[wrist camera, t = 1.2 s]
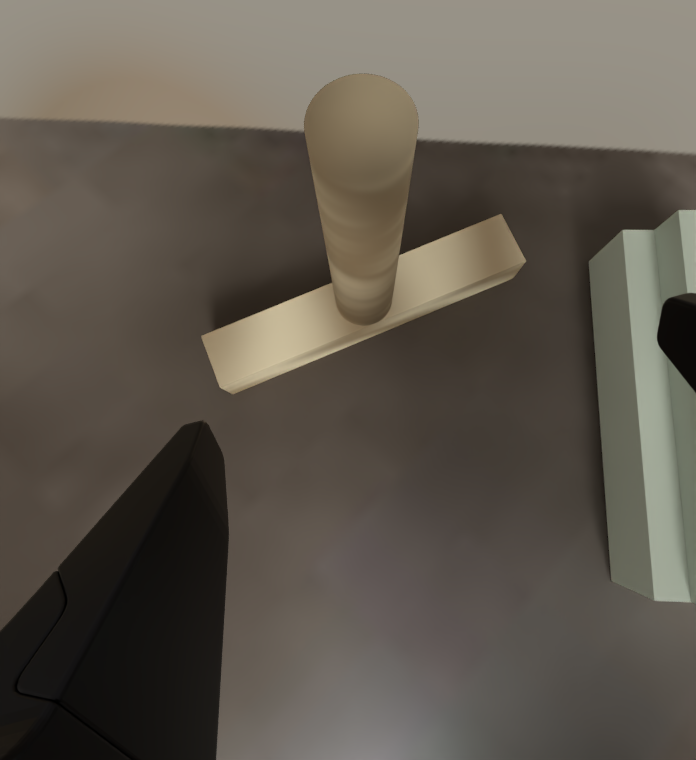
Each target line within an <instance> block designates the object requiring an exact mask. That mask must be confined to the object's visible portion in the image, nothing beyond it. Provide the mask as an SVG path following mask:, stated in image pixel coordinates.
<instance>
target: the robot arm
mask: <svg viewBox="0 0 696 760" xmlns="http://www.w3.org/2000/svg"><path fill="white" fill-rule="evenodd" d="M657 342H658V345H659V347H660V348H661V350H662V351H663V352H664V354H665V355H666V356H667V357H668V359H669V360H670V361H671V362H672V364H673V365H674V366H675V368H676V369H677V370H678V371H679V373H680V374H681V375H682V376H683V378H684V379H685V380H686V381H687V383H688V384H689V385H690V386H691V388H692V389H693V390H694V392H695V393H696V293H685V294H681V295H677V296H674V297H670V298H668V299H667V300H665V302H664V303H663V306H662V310H661V315H660V321H659V326H658V331H657ZM228 541H229V526H228V509H227V494H226V480H225V465H224V458H223V454H222V451H221V449H220V447H219V445H218V443H217V441H216V439H215V437H214V435H213V433H212V431H211V429H210V427H209V425H208V424H207V423H206V422H205V421H203V420H202V421H198V422H194V423H190V424H186V425H184V426H182V427H181V428H180V429H179V430H178V432H177V433H176V434H175V435H174V436H173V437H172V438H171V440H170V441H169V442H168V443H167V444H166V445H165V446H164V448H163V449H162V450H161V451H160V452H159V453H158V454H157V455H156V457H155V458H154V459H153V460H152V461H151V462H150V463H149V465H148V466H147V467H146V468H145V469H144V470H143V471H142V472H141V474H140V475H139V476H138V477H137V478H136V479H135V480H134V482H133V483H132V484H131V485H130V486H129V487H128V488H127V490H126V491H125V492H124V493H123V494H122V495H121V496H120V497H119V499H118V500H117V501H116V502H115V503H114V504H113V505H112V507H111V508H110V509H109V510H108V511H107V512H106V513H105V515H104V516H103V517H102V518H101V519H100V520H99V521H98V522H97V524H96V525H95V526H94V527H93V528H92V529H91V530H90V532H89V533H88V534H87V535H86V536H85V537H84V538H83V539H82V541H81V542H80V543H79V544H78V545H77V546H76V547H75V549H74V550H73V551H72V552H71V553H70V554H69V555H68V556H67V558H66V559H65V560H64V561H63V562H62V563H61V564H60V566H59V567H58V571H55V572H53V573H52V575H51V576H50V577H49V578H48V579H47V580H46V581H45V582H44V584H43V585H42V586H41V587H40V588H39V589H38V590H37V592H36V593H35V594H34V595H33V596H32V597H31V598H30V599H29V600H28V601H27V603H26V604H25V605H24V606H23V607H22V608H21V609H20V610H19V611H18V612H17V614H16V615H15V616H14V617H13V618H12V619H11V620H10V621H9V622H8V623H7V624H6V625H5V626H4V627H3V629H2V630H1V631H0V760H216V751H217V734H218V717H219V699H220V682H221V664H222V647H223V630H224V612H225V595H226V577H227V560H228Z"/></svg>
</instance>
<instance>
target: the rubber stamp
mask: <svg viewBox="0 0 696 760" xmlns="http://www.w3.org/2000/svg"><path fill="white" fill-rule="evenodd" d="M418 124H419V120H418V113H417V110H416V107H415V104H414V102H413V100H412V99H411V97H410V96H409V95H408V93H407V92H406V91H405V90H404V89H403V88H402V87H401V86H399V85H398V84H396V83H395V82H393V81H391V80H389V79H387V78H385V77H382V76H378V75H373V74H352V75H348V76H344V77H341V78H338V79H336V80H334V81H332V82H330V83H329V84H327V85H326V86H324V87H323V88H322V89H321V90H320V91H319V92H318V93H317V94H316V95H315V97H314V98H313V99H312V101H311V102H310V104H309V106H308V109H307V111H306V115H305V121H304V132H305V137H306V142H307V148H308V153H309V159H310V164H311V170H312V175H313V181H314V186H315V191H316V197H317V202H318V208H319V213H320V219H321V224H322V229H323V235H324V240H325V246H326V251H327V257H328V262H329V267H330V273H331V278H332V283H330V284H328V285H325V286H323V287H320V288H318V289H315V290H313V291H311V292H308V293H306V294H303V295H301V296H298V297H296V298H293V299H291V300H288V301H286V302H284V303H281V304H279V305H276V306H274V307H271V308H269V309H266V310H264V311H261V312H259V313H257V314H254V315H252V316H249V317H247V318H244V319H242V320H239V321H237V322H235V323H232V324H230V325H227V326H225V327H222V328H220V329H217V330H215V331H212V332H210V333H208V334H205V335H203V336H201V337H202V340H203V343H204V346H205V348H206V351H207V354H208V356H209V359H210V362H211V364H212V367H213V370H214V373H215V375H216V378H217V381H218V383H219V386H220V388H222V389H224V390H225V391H227V392H229V393H231V394H235V393H237V392H240V391H242V390H244V389H247V388H249V387H252V386H254V385H257V384H259V383H261V382H264V381H266V380H269V379H271V378H273V377H276V376H278V375H281V374H283V373H286V372H288V371H290V370H293V369H295V368H298V367H300V366H302V365H305V364H307V363H310V362H312V361H315V360H317V359H319V358H322V357H324V356H327V355H329V354H331V353H334V352H336V351H339V350H341V349H344V348H346V347H348V346H351V345H353V344H356V343H358V342H361V341H363V340H365V339H368V338H370V337H373V336H375V335H377V334H380V333H382V332H385V331H387V330H390V329H392V328H394V327H397V326H399V325H402V324H404V323H406V322H409V321H411V320H414V319H416V318H419V317H421V316H423V315H426V314H428V313H431V312H433V311H435V310H438V309H440V308H443V307H445V306H448V305H450V304H452V303H455V302H457V301H460V300H462V299H464V298H467V297H469V296H472V295H474V294H477V293H479V292H481V291H484V290H486V289H489V288H491V287H493V286H496V285H498V284H501V283H503V282H506V281H508V280H510V279H513V278H514V276H515V275H516V274H517V272H518V271H519V270H520V269H521V267H522V266H523V265H524V263H525V262H526V260H525V258H524V256H523V254H522V252H521V250H520V248H519V246H518V245H517V243H516V241H515V239H514V237H513V235H512V233H511V231H510V229H509V227H508V226H507V224H506V222H505V220H504V218H503V216H502V214H499V215H497V216H494V217H492V218H490V219H487V220H485V221H482V222H480V223H477V224H475V225H472V226H470V227H467V228H465V229H463V230H460V231H458V232H455V233H453V234H450V235H448V236H445V237H443V238H440V239H438V240H436V241H433V242H431V243H428V244H426V245H423V246H421V247H418V248H416V249H413V250H411V251H409V252H406V253H404V254H401V255H399V252H400V246H401V239H402V232H403V226H404V219H405V213H406V206H407V200H408V193H409V186H410V180H411V173H412V167H413V160H414V154H415V147H416V140H417V134H418Z"/></svg>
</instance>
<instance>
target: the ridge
mask: <svg viewBox="0 0 696 760" xmlns="http://www.w3.org/2000/svg"><path fill="white" fill-rule="evenodd" d="M589 275H590V289H591V303H592V317H593V331H594V345H595V359H596V373H597V387H598V401H599V415H600V430H601V444H602V458H603V472H604V486H605V500H606V514H607V528H608V542H609V556H610V570H611V581H612V582H614V583H617V584H619V585H621V586H623V587H625V588H628V589H630V590H632V591H634V592H636V593H638V594H641V595H643V596H645V597H647V598H649V599H652V600H654V601H672V602H692V603H695V604H696V393H695V392H694V390H693V389H692V388H691V386H690V385H689V384H688V383H687V381H686V380H685V379H684V378H683V376H682V375H681V374H680V373H679V371H678V370H677V369H676V368H675V366H674V365H673V364H672V362H671V361H670V360H669V359H668V357H667V356H666V355H665V354H664V352H663V351H662V350H661V348H660V347H659V345H658V342H657V331H658V326H659V321H660V315H661V310H662V306H663V303H664V302H665V300H667V299H668V298H670V297H674V296H677V295H681V294H685V293H696V210H678V211H677V212H675V213H674V214H673V215H672V216H671V217H669V218H668V219H667V220H666V221H665V222H663V223H662V224H661V225H660V226H659V227H657V228H656V229H655V230H622V231H621V232H620V233H619V234H618V235H616V236H615V237H614V238H613V239H612V240H611V241H610V242H609V243H608V244H607V245H606V246H605V247H604V248H603V249H601V250H600V251H599V252H598V253H597V254H596V255H595V256H594V257H593V258H592V259H591V260H590V261H589Z"/></svg>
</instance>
